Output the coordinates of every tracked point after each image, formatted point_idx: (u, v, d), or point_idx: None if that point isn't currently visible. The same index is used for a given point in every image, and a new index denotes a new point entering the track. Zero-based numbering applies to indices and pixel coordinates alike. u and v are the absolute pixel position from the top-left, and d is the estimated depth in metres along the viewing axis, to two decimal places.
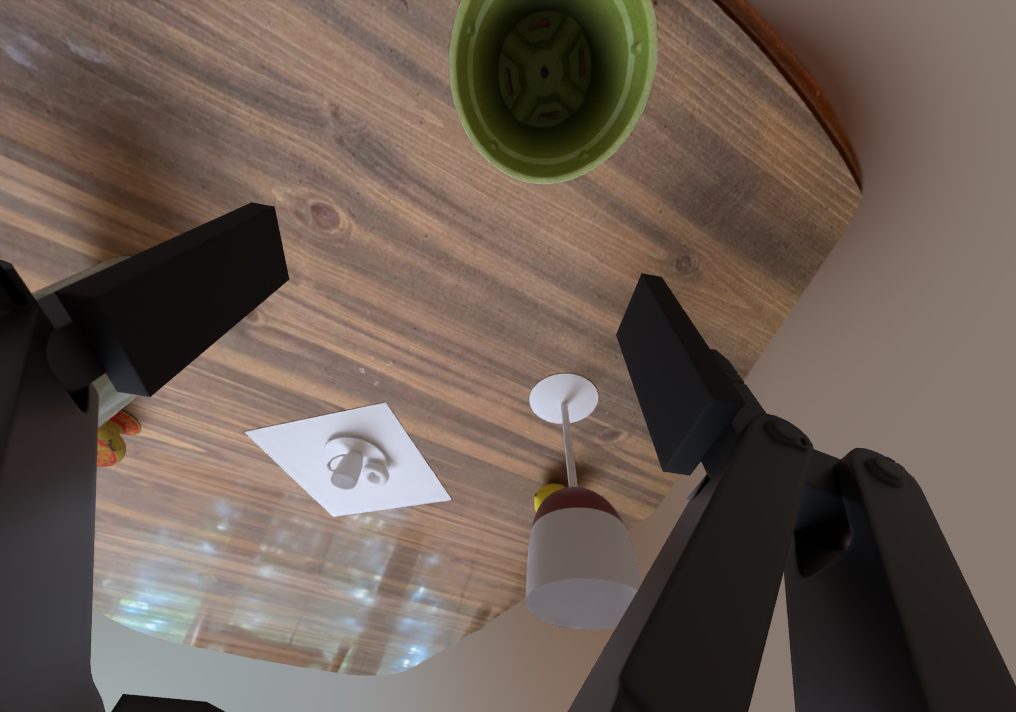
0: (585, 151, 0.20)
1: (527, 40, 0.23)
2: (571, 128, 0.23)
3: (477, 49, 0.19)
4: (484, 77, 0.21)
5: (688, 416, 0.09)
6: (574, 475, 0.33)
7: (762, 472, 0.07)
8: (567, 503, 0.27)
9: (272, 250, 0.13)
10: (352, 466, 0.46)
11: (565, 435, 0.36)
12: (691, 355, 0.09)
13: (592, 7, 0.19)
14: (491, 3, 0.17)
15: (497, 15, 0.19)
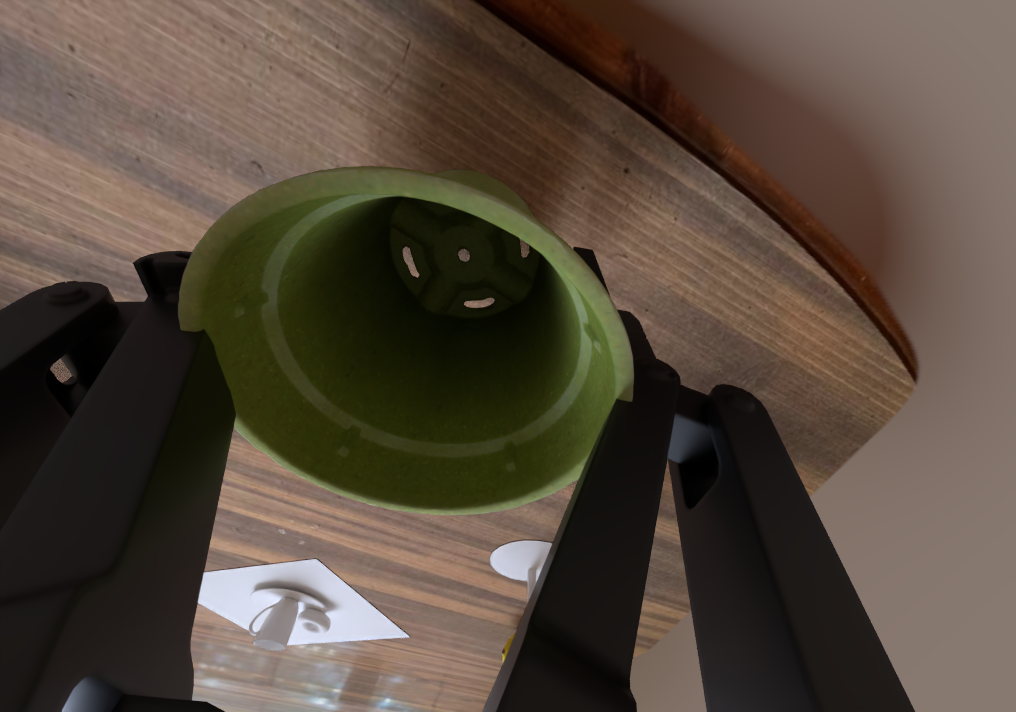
0: (513, 447, 0.11)
1: (431, 212, 0.14)
2: (506, 347, 0.14)
3: (294, 302, 0.10)
4: (339, 305, 0.12)
5: None
6: None
7: (641, 407, 0.08)
8: None
9: None
10: (281, 624, 0.38)
11: None
12: None
13: None
14: (294, 247, 0.08)
15: (335, 234, 0.10)
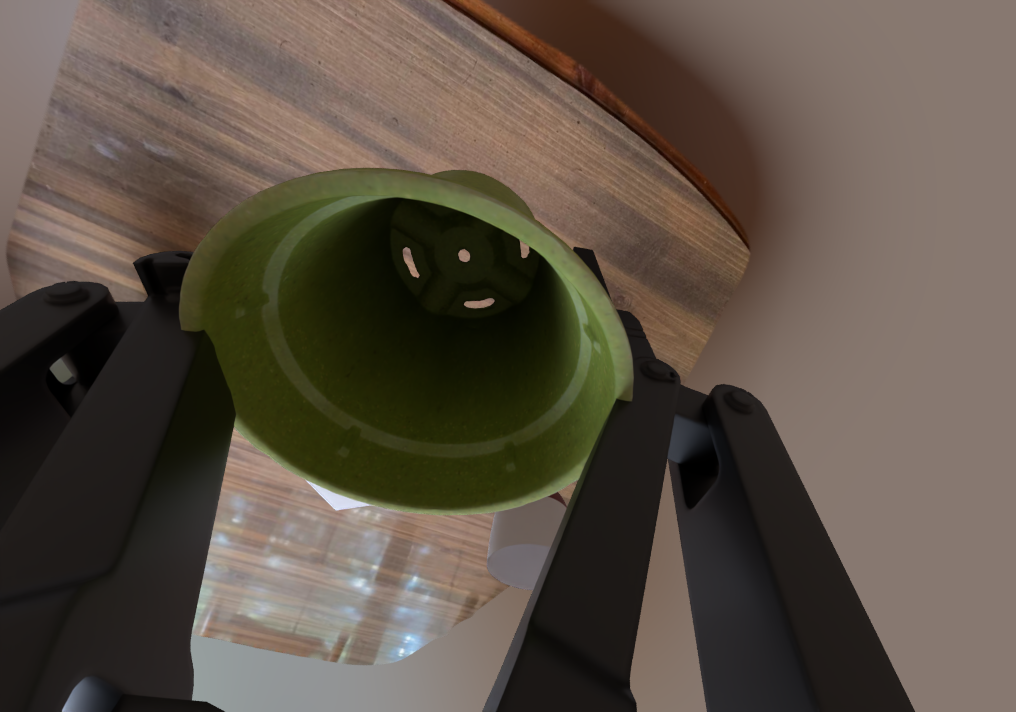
0: (513, 448, 0.11)
1: (431, 212, 0.14)
2: (506, 348, 0.14)
3: (294, 303, 0.10)
4: (340, 306, 0.12)
5: None
6: None
7: (641, 408, 0.08)
8: None
9: None
10: None
11: None
12: None
13: None
14: (294, 248, 0.08)
15: (335, 235, 0.10)
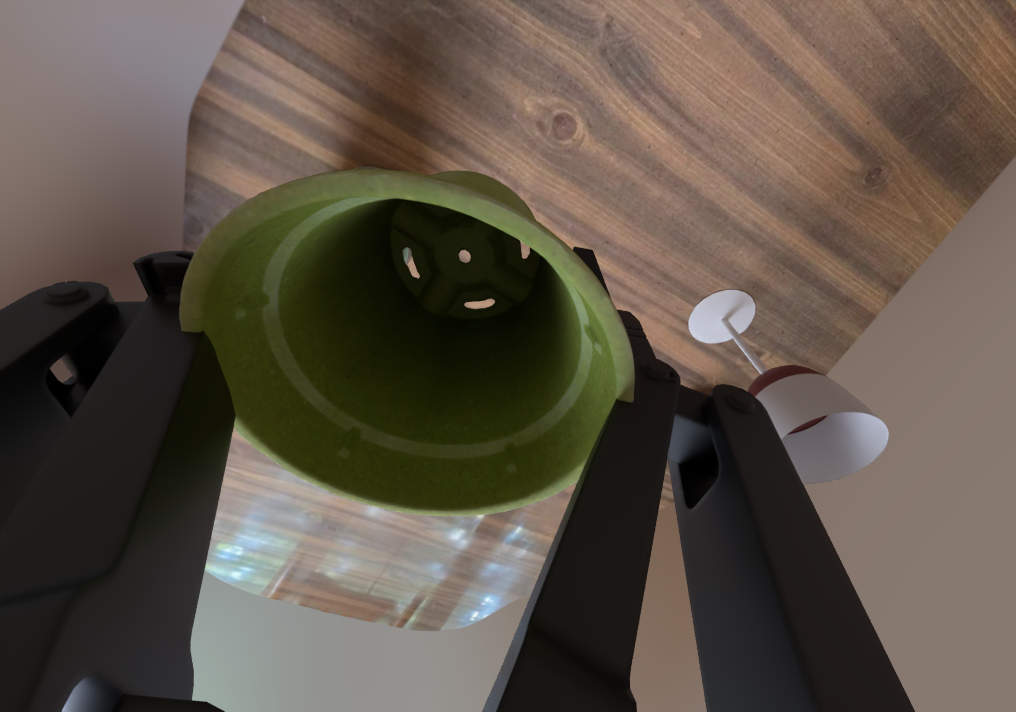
0: (513, 448, 0.11)
1: (432, 213, 0.14)
2: (507, 348, 0.14)
3: (295, 304, 0.10)
4: (340, 307, 0.12)
5: None
6: (765, 367, 0.37)
7: (641, 407, 0.08)
8: (794, 372, 0.31)
9: None
10: None
11: (740, 341, 0.41)
12: None
13: None
14: (295, 249, 0.08)
15: (335, 236, 0.10)
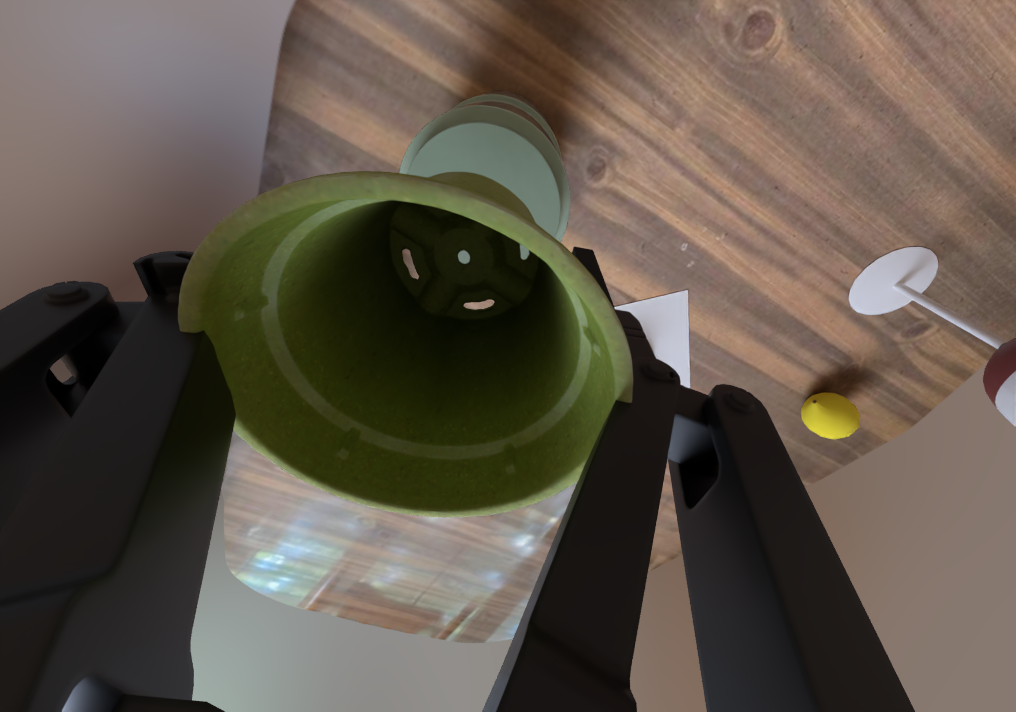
0: (513, 450, 0.11)
1: (431, 214, 0.14)
2: (506, 349, 0.14)
3: (294, 305, 0.10)
4: (339, 308, 0.12)
5: None
6: (994, 334, 0.30)
7: (641, 407, 0.08)
8: None
9: None
10: None
11: (937, 306, 0.33)
12: None
13: None
14: (294, 250, 0.08)
15: (334, 237, 0.10)
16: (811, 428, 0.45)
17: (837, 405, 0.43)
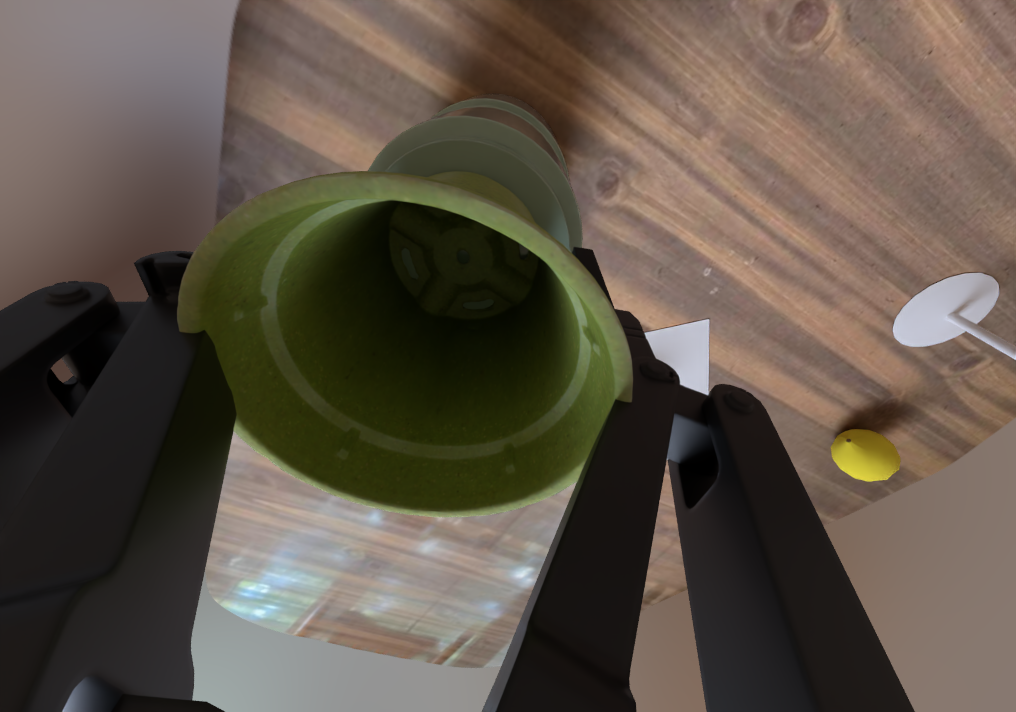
0: (512, 449, 0.11)
1: (430, 214, 0.14)
2: (505, 349, 0.14)
3: (293, 305, 0.10)
4: (339, 308, 0.12)
5: None
6: None
7: (640, 407, 0.08)
8: None
9: None
10: None
11: (1005, 344, 0.29)
12: None
13: None
14: (293, 251, 0.08)
15: (334, 237, 0.10)
16: (844, 469, 0.41)
17: (875, 445, 0.38)
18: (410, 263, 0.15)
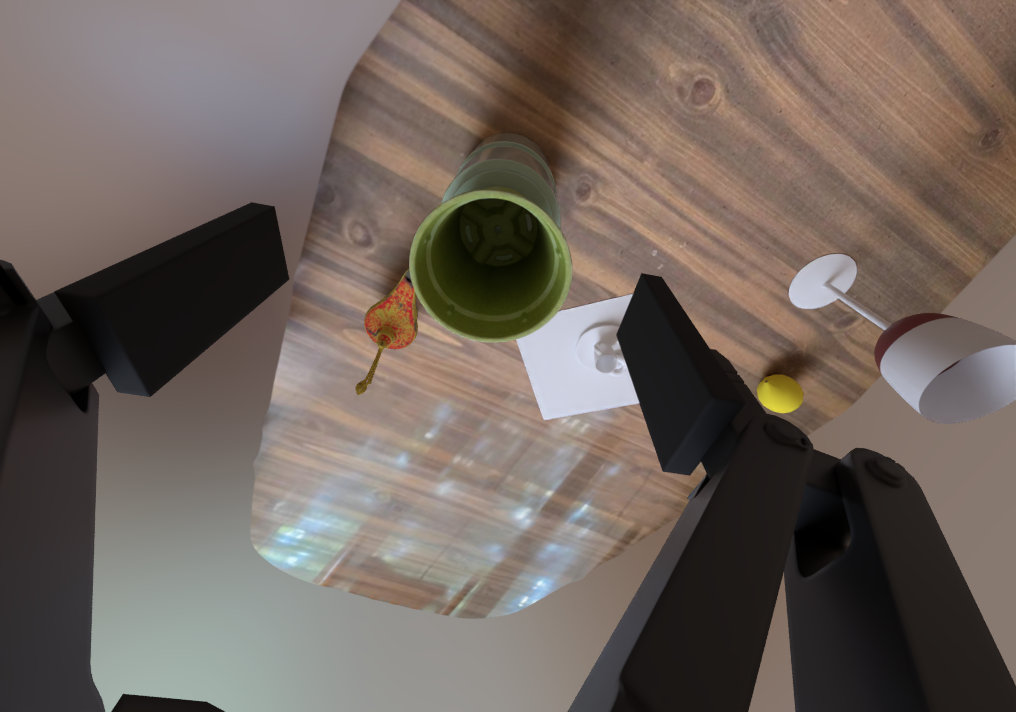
0: (525, 313, 0.25)
1: (482, 207, 0.27)
2: (520, 277, 0.28)
3: (434, 242, 0.23)
4: (444, 249, 0.25)
5: (688, 416, 0.09)
6: (886, 321, 0.39)
7: (762, 472, 0.07)
8: (935, 317, 0.33)
9: (272, 250, 0.13)
10: (612, 351, 0.51)
11: (851, 300, 0.42)
12: (691, 355, 0.09)
13: None
14: (443, 218, 0.22)
15: (451, 214, 0.23)
16: (764, 404, 0.54)
17: (784, 384, 0.52)
18: (469, 234, 0.29)
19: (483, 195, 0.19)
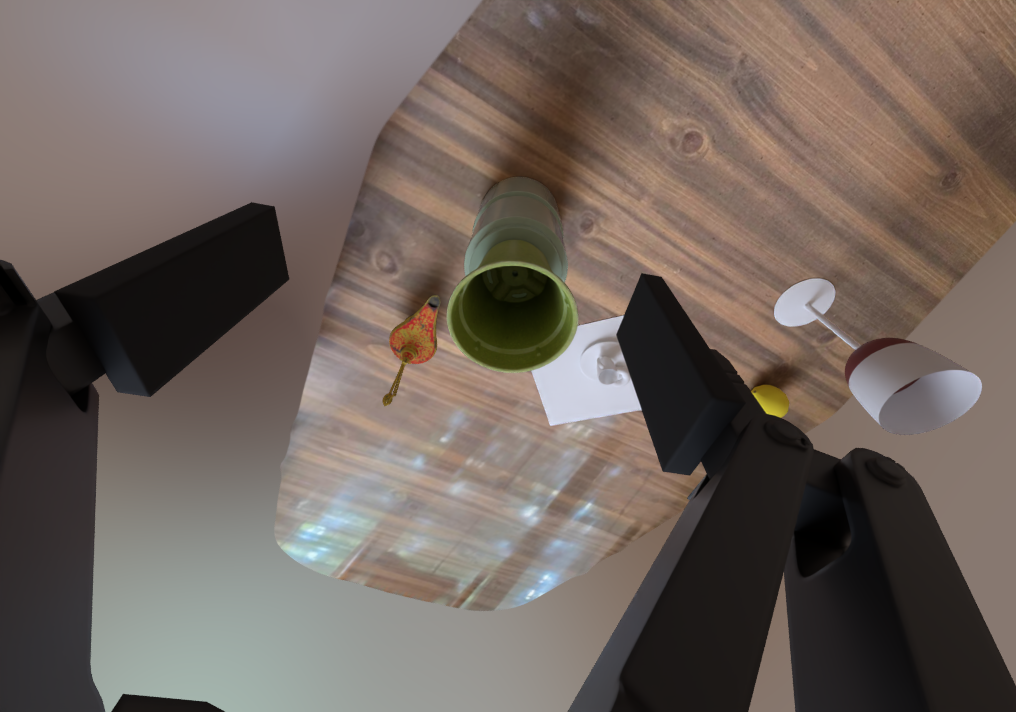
0: (539, 348, 0.30)
1: None
2: (533, 314, 0.33)
3: (465, 293, 0.28)
4: (471, 295, 0.30)
5: (688, 416, 0.09)
6: (857, 342, 0.43)
7: (762, 472, 0.07)
8: (894, 342, 0.38)
9: (272, 250, 0.13)
10: (613, 365, 0.56)
11: (828, 321, 0.47)
12: (691, 355, 0.09)
13: (541, 262, 0.29)
14: None
15: None
16: None
17: (771, 394, 0.57)
18: (489, 276, 0.34)
19: (508, 264, 0.24)
